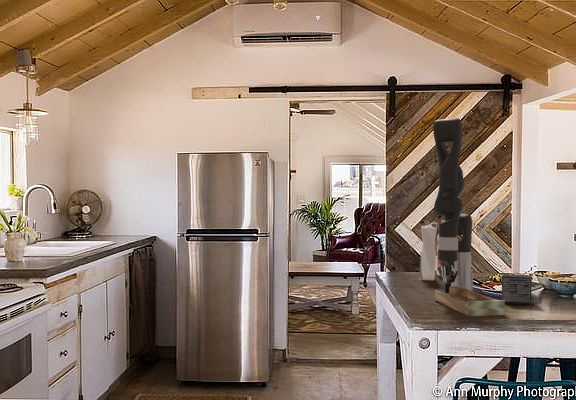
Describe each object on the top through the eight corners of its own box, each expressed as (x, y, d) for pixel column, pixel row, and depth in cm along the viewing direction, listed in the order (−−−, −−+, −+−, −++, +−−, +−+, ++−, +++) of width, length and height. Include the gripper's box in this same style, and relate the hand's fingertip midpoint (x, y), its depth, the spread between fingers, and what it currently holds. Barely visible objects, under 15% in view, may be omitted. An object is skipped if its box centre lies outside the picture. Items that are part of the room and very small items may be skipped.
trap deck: (466, 299, 224) (466, 286, 224) (504, 314, 197) (504, 300, 197) (434, 300, 222) (434, 287, 222) (468, 316, 194) (469, 301, 194)
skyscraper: (437, 278, 276) (437, 221, 275) (437, 281, 268) (438, 222, 267) (419, 278, 277) (419, 221, 277) (419, 280, 270) (419, 222, 269)
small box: (530, 301, 220) (530, 274, 219) (531, 305, 213) (532, 277, 213) (501, 299, 223) (501, 273, 223) (501, 303, 217) (502, 276, 217)
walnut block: (461, 299, 214) (461, 286, 214) (467, 302, 209) (467, 288, 209) (449, 299, 213) (449, 286, 213) (455, 302, 208) (455, 289, 208)
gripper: (464, 250, 213) (464, 295, 213) (449, 246, 226) (448, 289, 226) (446, 250, 212) (445, 296, 212) (431, 246, 225) (431, 290, 225)
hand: (447, 292), depth 219 cm, fingers closed
